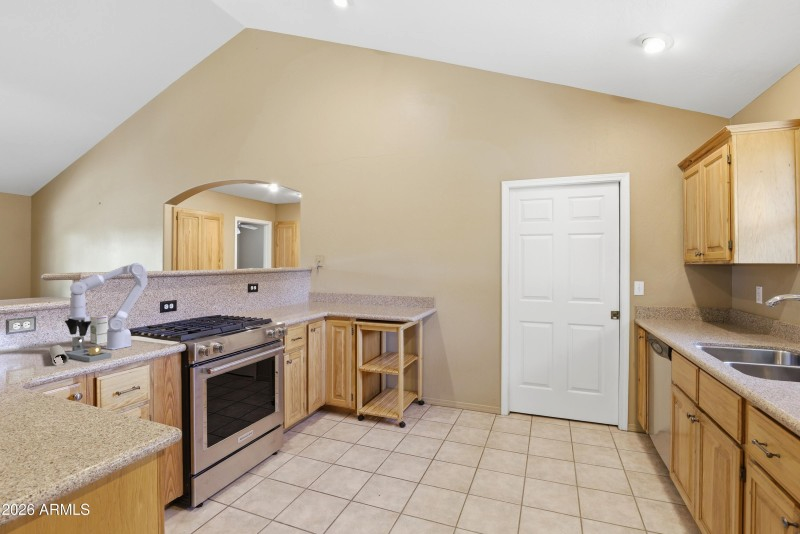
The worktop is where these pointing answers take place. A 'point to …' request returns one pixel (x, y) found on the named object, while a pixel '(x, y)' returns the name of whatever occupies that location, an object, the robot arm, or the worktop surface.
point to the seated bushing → (94, 351)
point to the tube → (58, 353)
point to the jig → (84, 355)
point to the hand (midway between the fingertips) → (78, 335)
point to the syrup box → (98, 329)
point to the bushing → (77, 343)
